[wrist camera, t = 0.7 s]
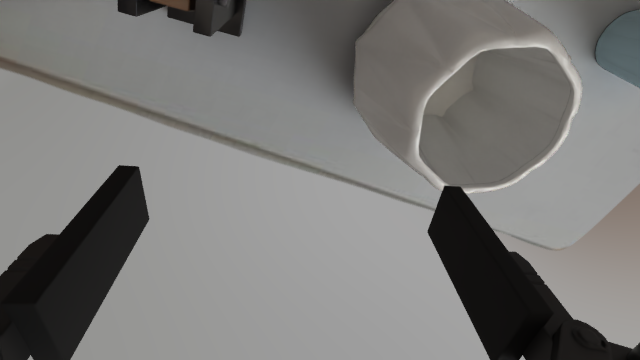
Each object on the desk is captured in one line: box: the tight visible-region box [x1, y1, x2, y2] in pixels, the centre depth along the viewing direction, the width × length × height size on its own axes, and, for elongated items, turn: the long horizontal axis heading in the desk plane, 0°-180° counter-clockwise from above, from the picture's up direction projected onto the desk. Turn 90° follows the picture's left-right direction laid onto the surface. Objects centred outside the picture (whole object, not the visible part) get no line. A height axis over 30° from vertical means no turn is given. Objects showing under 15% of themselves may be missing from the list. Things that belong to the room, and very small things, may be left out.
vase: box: [353, 0, 583, 194], centre depth 27 cm, size 14×14×15 cm
